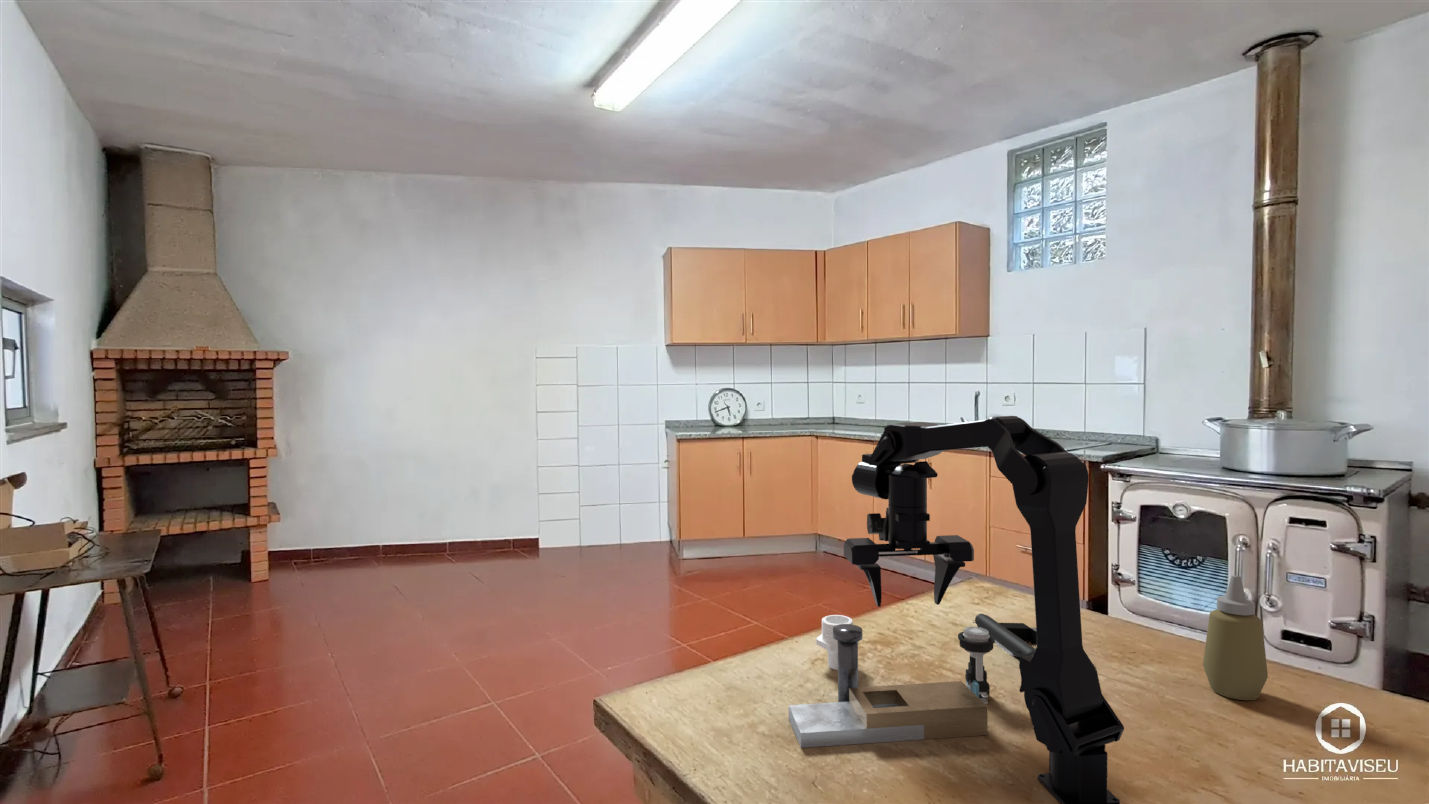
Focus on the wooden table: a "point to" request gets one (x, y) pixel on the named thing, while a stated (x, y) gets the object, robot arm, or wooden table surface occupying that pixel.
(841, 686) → the metal knob
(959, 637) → the push button
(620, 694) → the wooden table surface
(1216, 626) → the squeeze bottle
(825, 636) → the pipe fitting
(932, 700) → the tan and silver block
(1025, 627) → the black frame
